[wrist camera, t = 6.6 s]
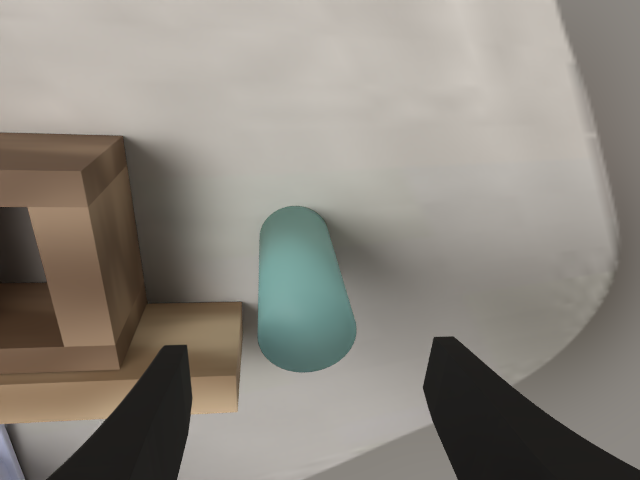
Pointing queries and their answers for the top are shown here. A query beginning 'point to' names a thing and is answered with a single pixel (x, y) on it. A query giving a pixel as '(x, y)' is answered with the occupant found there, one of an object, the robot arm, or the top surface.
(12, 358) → the block
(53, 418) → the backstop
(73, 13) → the top surface
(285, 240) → the dowel
